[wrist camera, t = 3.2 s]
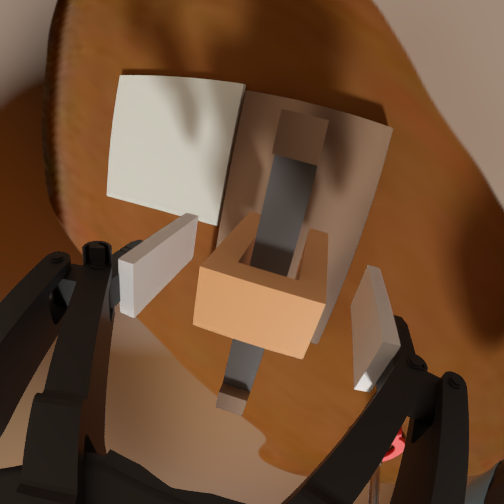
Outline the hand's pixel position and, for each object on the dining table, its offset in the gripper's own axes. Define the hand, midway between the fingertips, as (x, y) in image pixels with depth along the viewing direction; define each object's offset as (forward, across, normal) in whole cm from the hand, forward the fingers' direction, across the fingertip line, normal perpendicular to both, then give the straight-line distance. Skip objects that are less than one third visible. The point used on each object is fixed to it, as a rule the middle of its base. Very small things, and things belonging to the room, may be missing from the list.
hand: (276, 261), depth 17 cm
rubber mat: (+7, +11, -4) cm, 13 cm away
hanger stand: (+7, 0, 0) cm, 7 cm away
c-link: (+3, 0, 0) cm, 3 cm away
